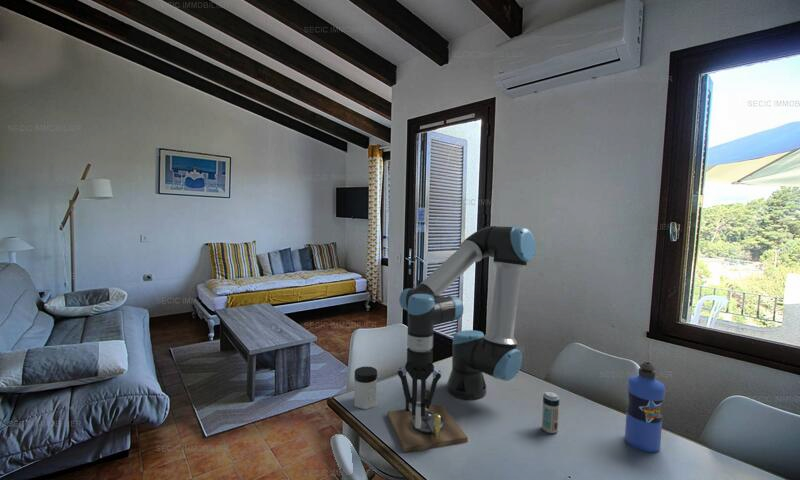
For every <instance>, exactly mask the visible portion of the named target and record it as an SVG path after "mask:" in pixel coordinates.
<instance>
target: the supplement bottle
mask: <svg viewBox="0 0 800 480" xmlns="http://www.w3.org/2000/svg"><path fill="white" fill-rule="evenodd" d="M542 399H543V400H542V414H541V415H542V418H541V429H542V430H543V431H545V432H546V433H548V434H556V433H558V431H559V418H560V417H559V415H560V400H561V399H560V396H559V393H557V392H555V391H552V390H547V391H545V392H544V394H543V398H542Z"/></svg>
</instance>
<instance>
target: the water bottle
mask: <svg viewBox="0 0 800 480" xmlns="http://www.w3.org/2000/svg"><path fill="white" fill-rule="evenodd" d="M655 370H656V368H655V367H654V365H653V364H652V363H650V362H647V361H645V362H643V363H641V364H639V368H638V375H633V376H632V375H631V376H629V377H628V378H627V391H628V392H627V393H628V404H627V409H626V413H625V414H626V415H625V426H624V427H625V428H624V429H625V431H624V432H625V433H624V441H625V442H626V443H627V444H628V446H629V445H630V447H632V448H634V449H635V450H638V451H640V452H644V453H651V454H652V453H653V454H654V453H659V452H660V450H661V443H662V441H661V440H662V429H663V417H662V409H663V408H662V407H663V403H664V400H665V395H666V385H665V384H663V382H660V381H659V380H657V379H655V378H656V371H655Z"/></svg>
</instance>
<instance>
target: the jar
mask: <svg viewBox="0 0 800 480" xmlns="http://www.w3.org/2000/svg"><path fill="white" fill-rule="evenodd" d="M377 382H378V370H377V369H376V368H375V367H373V366H359V367H357V368H356V369H355V370H354V383H353V384H354V386H353V387H354V390H353V391H354V394H353V395H354V396H353V397H354V398H353V400H354V401H353V405H354V407H355V408H359V409H362V410H368V409H372V408H374V407H377V402H378V401H377V396H378V395H377V392H378V391H377V390H378V389H377V387H378V386H377V384H378V383H377Z"/></svg>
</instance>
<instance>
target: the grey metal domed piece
mask: <svg viewBox="0 0 800 480" xmlns="http://www.w3.org/2000/svg"><path fill="white" fill-rule="evenodd" d="M418 402H421V400H418ZM415 418H416V416H414V417H413V418H412V426H413V428H414V429H415V430H417V431H419V432H421V433H426V434H432V435H433V437H434V438H440V431H441V430H442V429H443V427H444V420H443V419H442V417H441V415H440V414H438V413H436V414H435V413H432V412H430V411H426V410H425V415H424V416H421V427H420V428H415Z"/></svg>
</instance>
